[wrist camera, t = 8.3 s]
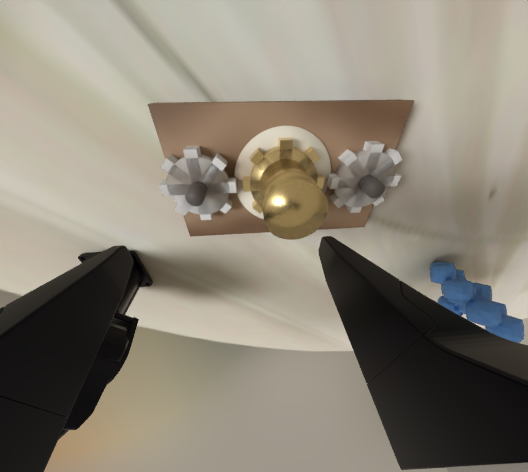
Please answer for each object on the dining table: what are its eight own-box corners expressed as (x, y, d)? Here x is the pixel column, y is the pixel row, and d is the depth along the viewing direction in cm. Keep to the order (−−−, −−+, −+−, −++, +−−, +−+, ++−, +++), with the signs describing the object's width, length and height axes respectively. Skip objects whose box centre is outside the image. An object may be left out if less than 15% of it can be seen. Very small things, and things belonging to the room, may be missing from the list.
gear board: (363, 219, 23) (384, 243, 20) (187, 228, 22) (175, 255, 18) (409, 99, 16) (457, 102, 12) (146, 102, 14) (114, 107, 11)
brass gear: (314, 212, 20) (335, 250, 15) (246, 215, 19) (246, 255, 15) (328, 136, 15) (364, 157, 11) (240, 138, 15) (237, 160, 10)
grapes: (389, 269, 30) (456, 352, 20) (430, 239, 26) (534, 323, 17) (427, 288, 34) (497, 364, 25) (467, 265, 31) (565, 343, 21)
